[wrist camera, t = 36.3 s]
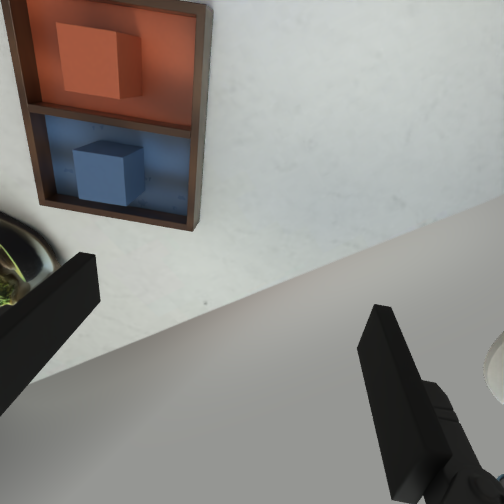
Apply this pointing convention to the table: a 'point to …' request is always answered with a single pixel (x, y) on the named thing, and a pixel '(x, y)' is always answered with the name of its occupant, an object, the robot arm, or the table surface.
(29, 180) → the table surface
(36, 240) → the salad plate
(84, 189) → the blue block
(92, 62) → the terracotta block
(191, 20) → the tray
